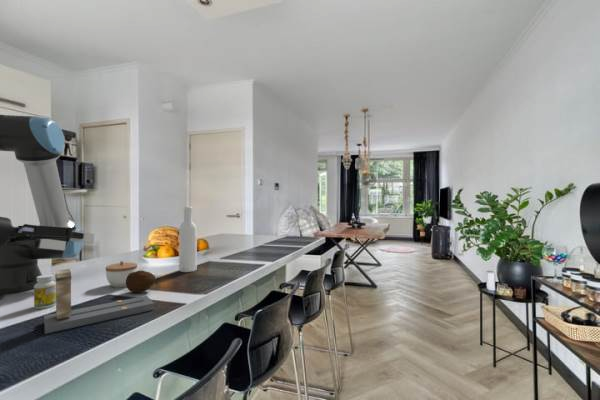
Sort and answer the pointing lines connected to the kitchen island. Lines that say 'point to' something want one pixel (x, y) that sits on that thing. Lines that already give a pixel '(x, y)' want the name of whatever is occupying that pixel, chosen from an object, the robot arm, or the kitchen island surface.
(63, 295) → the fader tab
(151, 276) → the potato
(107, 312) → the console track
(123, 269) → the lidded jar
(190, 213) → the bottle
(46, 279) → the supplement bottle
